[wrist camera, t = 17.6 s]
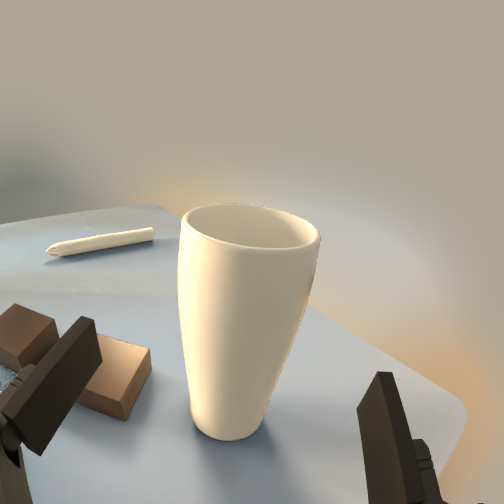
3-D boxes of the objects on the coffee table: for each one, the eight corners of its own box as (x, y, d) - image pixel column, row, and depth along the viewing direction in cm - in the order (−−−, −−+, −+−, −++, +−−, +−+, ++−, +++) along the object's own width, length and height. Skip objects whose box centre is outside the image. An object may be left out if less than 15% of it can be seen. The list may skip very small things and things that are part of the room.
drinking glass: (215, 371, 24) (233, 196, 19) (286, 407, 22) (339, 226, 16) (162, 418, 19) (149, 218, 13) (240, 468, 16) (288, 269, 10)
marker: (46, 261, 36) (44, 246, 35) (46, 256, 38) (43, 241, 37) (154, 242, 48) (154, 228, 47) (149, 237, 49) (149, 224, 48)
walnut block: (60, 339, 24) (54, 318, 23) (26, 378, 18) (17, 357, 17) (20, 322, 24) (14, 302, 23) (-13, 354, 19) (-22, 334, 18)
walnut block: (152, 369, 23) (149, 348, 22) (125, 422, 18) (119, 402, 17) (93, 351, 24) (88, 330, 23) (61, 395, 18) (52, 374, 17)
